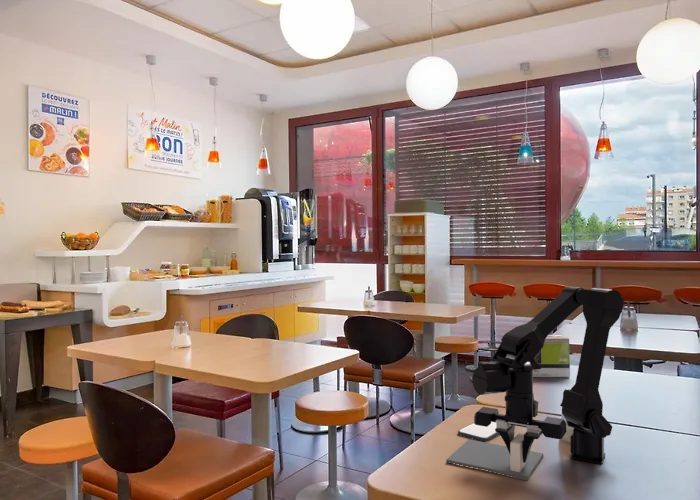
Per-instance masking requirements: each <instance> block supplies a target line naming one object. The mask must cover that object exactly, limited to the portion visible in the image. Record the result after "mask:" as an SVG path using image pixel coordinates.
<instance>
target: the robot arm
mask: <svg viewBox="0 0 700 500" xmlns="http://www.w3.org/2000/svg"><path fill="white" fill-rule="evenodd" d="M580 306H582V314H583V317H584V320H585V323H586V325H585V333H584V336H583V337H584V338H583V343H582V347H581V353H580V357H579V363H578V369H577V372H576V373H577V374H576V378H575V383H574V385H572V387H571V388H570V389H564V390H563V393H562V400H561V403H560V407H561V414H562V416H563V418H558V417H552V416H547V417H545V418H544V420H541V419H540V420H539V419H534V418H536V417H537V416H538V413H539V412H538V411H539V401H537V400H535V397H534V395H535V394H534V386H533V385H534V377H533V370H538V369H541V368H542V367H541V366H540V365H539V364H538V363H537V362H536V361H535V359H534V358H535V357H536V356H537V355H538V353H539V352H540V351H541V349H542V348H543V346H544V341H545V339H546V337H547V336H548V335H551V334H552V332H554V330H556V328H558V327H559V326H560V325H561V324H562V323H563V322H565V320H567V319H568V318H569V317H570V316H571V315H572V314H573V313H574V312H575V311H577V309H578V308H580ZM624 306H625V305H624V297H623V296H622V294H621V293H620V292H619V290H616V289H612V288H611V289H608V288H599V287H592V288H589V289H585V288H583V287H579V286H566V287H564V288H563V289H562V290H561V292H560V294H559V295H557V297H555V298H554V299H553V300H552V301H551V302H550V303H548V304H547V305H546V306H545V307H544V308H543V309H542V310H541V311H540V312H539V313H537V314H536V315H535V316H534V317H533V318H532V319H531V320H530V321H528V322H526V323H524V324H521V325H518V326H515V327H514V328H512V329H510V330H509V331H507V332H506V333H505V334H504V335H503V336H502V338H501V341H500V344H499V346H498V347H497V348H496V351H495V352H494V354H493V356H492V357H491V360H490V361H478V362H477V367H476V368H475V369H474V371H473V373H472V375H471V379H472V380H471V381H472V386H473V389H474V391H475V392H476V393H477V394H478V395H481V396H482V395H491V394H492V395H493V394H501V393H505V396H504V402H505V414H501V413H500V412H499V410H498V408H493V407H486V406H482V407H480V409H479V410H477V411H476V412H475V413H474V416H473V417H474V418H473V423H474V424H475V425H479V426H485V427H487V426H489V425H490V424H491V422H496V429H495V432H498V433H500V435H499V436H500V437H501V438H502V441H503V442H504V444H505V446H507V449H508V451H509V453H510V442H511V441H512V440H513V439H514V438H515V429H516V427H521V428H525V429H526V430H527V431H526V432H525V433H523V434H524V441H523V462H524V463H525V462H526V460H527V457H528V455H529V452H530V451H531V449H532V446H533V443H534V441H535V440H539V438H540V437H541V436H542V435H543V436H544V437H545V438H547V439H548V438H549V439H556V440H562V439H563V438H564V436H565V435H566V433H567V427H569V428H573V429H572V433H571V434H570V446H569V447H570V448H569V449H570V454H571V456H570V457H571V459H572V460H577V461H583V462H589V463H594V464H599V465H602V464H603V462H604V460H605V458H606V453H605V438H607V437H609V436H610V435H612V434H611V433H612V431H613V430H612V429H613V426H612V424H611V423H610V422H609V421H608V419H606V417H604V415H603V408H604V406H603V405H604V404H603V400H602V398H601V394H600V391H599V389H600V388H599V387H600V382H601V376H602V371H603V366H604V361H605V355H606V351H607V345H608V340H609V334H610V330H611V328H612V327H613V326H614V325H615V324H616V322H617V321H618V320H619V319H620V316H621V313H622V310H623V308H624Z"/></svg>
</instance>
